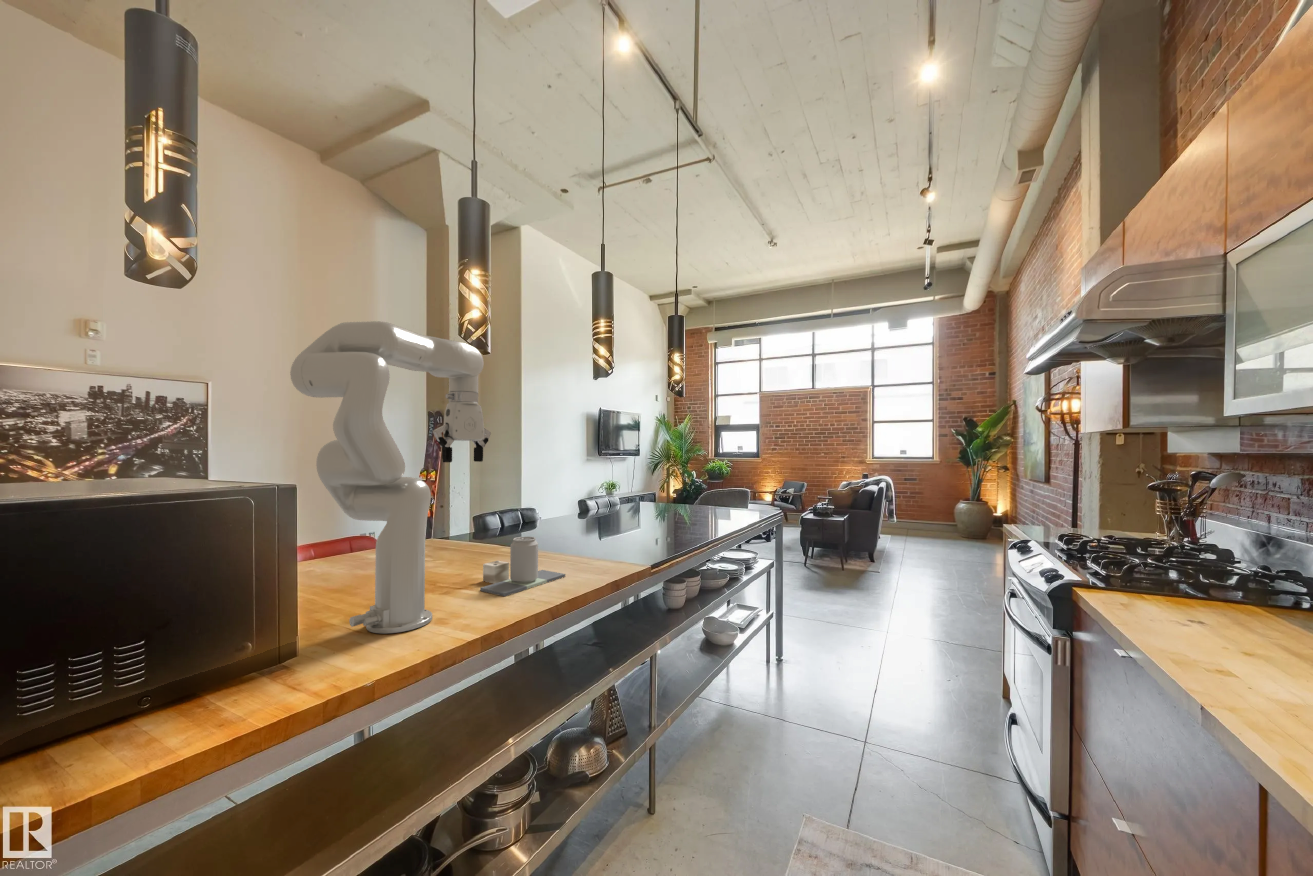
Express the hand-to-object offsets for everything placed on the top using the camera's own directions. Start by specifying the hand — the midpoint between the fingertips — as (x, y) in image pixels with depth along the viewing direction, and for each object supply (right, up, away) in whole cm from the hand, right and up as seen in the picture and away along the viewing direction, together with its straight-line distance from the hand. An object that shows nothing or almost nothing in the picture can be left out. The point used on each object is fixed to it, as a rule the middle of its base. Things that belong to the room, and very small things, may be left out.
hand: (463, 461), depth 131 cm
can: (+16, -34, +3) cm, 37 cm away
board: (+16, -34, +4) cm, 38 cm away
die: (+7, -35, +7) cm, 36 cm away
